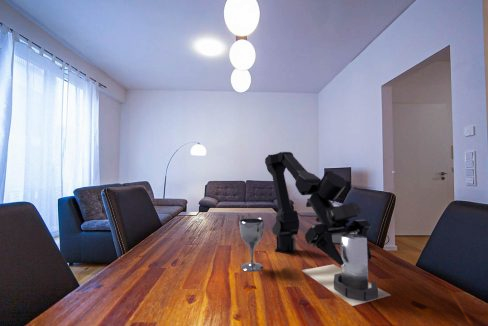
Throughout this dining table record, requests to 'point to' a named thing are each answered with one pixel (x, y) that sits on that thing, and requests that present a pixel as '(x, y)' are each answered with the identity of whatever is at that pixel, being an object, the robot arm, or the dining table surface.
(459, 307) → the dining table surface
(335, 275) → the ring stand
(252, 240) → the wine glass
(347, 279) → the grey round cylinder
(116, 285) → the dining table surface
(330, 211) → the robot arm
